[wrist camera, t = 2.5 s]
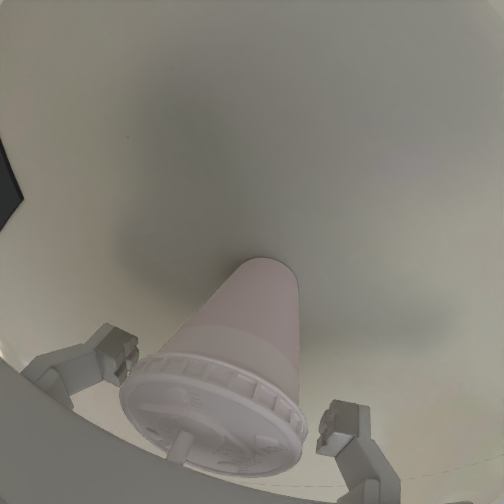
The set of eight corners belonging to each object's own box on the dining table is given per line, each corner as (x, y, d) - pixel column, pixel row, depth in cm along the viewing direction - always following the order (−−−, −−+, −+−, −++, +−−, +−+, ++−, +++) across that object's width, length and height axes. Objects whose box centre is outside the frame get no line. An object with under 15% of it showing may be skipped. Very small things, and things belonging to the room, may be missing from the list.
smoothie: (236, 211, 15) (25, 469, 3) (346, 272, 15) (329, 583, 3) (195, 299, 18) (61, 501, 6) (287, 348, 18) (222, 573, 6)
